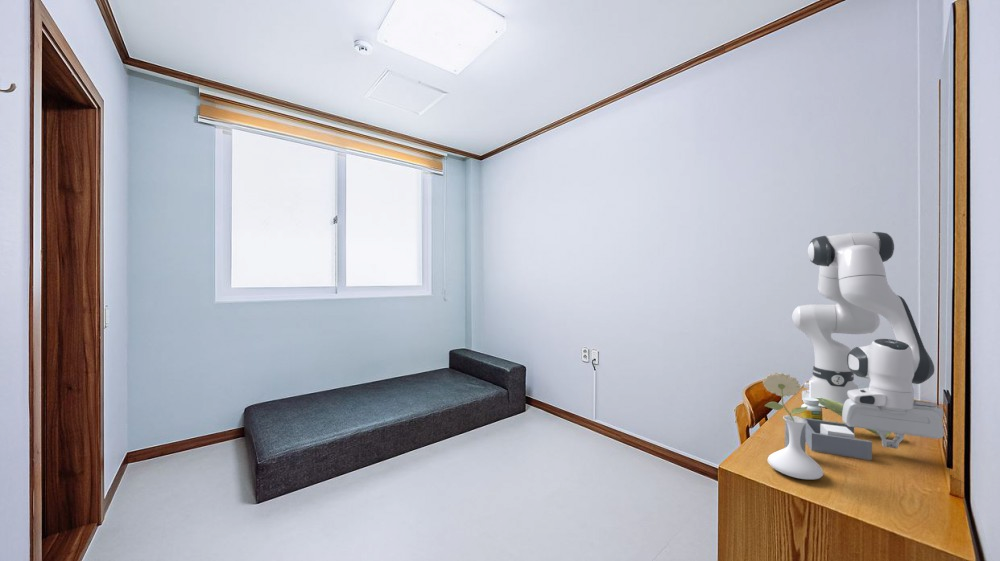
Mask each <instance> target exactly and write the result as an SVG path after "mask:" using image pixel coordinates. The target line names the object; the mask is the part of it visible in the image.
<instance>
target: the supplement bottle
mask: <svg viewBox="0 0 1000 561" xmlns="http://www.w3.org/2000/svg"><path fill="white" fill-rule="evenodd" d="M802 402H803V404H801V406H800V408H801V407H807V406H808V407H807V409H806V410H805V411H804V412H802V413H801V417H802V418H809V419H816V420H824V419H823V407H822V406H819V400H818V399H815V398H809V397H806V398H803V401H802Z"/></svg>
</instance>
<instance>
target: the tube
mask: <svg viewBox="0 0 1000 561" xmlns="http://www.w3.org/2000/svg"><path fill="white" fill-rule="evenodd" d="M811 398H815V399H818V400H819V403H820V404H821V405H823V406H825V407H824V408H826V409H827V410H830V411H832V412H833V413H834V414H836V415H838V416H840V417H842V411H843V406H844V404H841V403H838V402H835V401H832V400H829V399H825V398H819V397H811ZM865 430H866V431H869V432H871V433H872V434H874V435H877V436H878V437H880V436H879V435H878V433H877V430H871V429H865ZM891 434H892V432H886V435H884V437H885V438H886V439H887V438H888V437H889V436H890V435H891Z"/></svg>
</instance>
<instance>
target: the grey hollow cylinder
mask: <svg viewBox="0 0 1000 561" xmlns="http://www.w3.org/2000/svg"><path fill="white" fill-rule="evenodd" d="M788 444H789V429H788V425H787V423H786V421H785V420H784V448H786V447H787V446H788ZM800 445H801V448H802V450H803V451H804V452H805V453H806V424H805V425H804V426H803V428H802V431H801V436H800Z"/></svg>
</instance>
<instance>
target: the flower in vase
mask: <svg viewBox="0 0 1000 561" xmlns="http://www.w3.org/2000/svg"><path fill="white" fill-rule="evenodd" d="M762 385H763V387H764V388H766V389H765V390H766V391H767V392H770V393H771V394H775V395H776V396H779V397H781V403H778V402H776V401H769V402H767V403H765V404H764V407H766V408H769V409H773V410H776V411H780V410H781V409H783V408H784V410H785V411H786V413H788V415H783V416H782V418H783V420H784V422H785V421H786V423H787V425H788V429H789V444H788V446H787V447H786V448H785V447H784V448H781V449H779V450H777V451H774V452H772V453H771V454H770V455H768V458H767V463H768V464H769V466H770V467H771V468H773V469H774V470H776V471H777V472H780V473H781V474H783V475H786V476H789V477H792V478H795V479H799V480H800V479H801V480H818V479H821V478H822V477H823V476H824V471H823V468H822V467H821V466H820V465H819V463H818V462H817V461H816V460H815V459H814V458H812V457H810V455H809V454H807V453H806V451H805V452H804V451H803V450H802V448H801V445H800V436H801V431H802V428H803V426H804V425H805V424H806V423H807V422H808V421H807V420H806V419H804V418H801V417H802V416H796V415H798V414H802V412H804V411H805V410H806V409H807V407H808V406H807V407H801V406H800V407H794V408H793V409H792V410H791V411H789V410H788V409H787V407H786V406H785V403H784V397H791V396H796V395H797V393H799V392H800V391H801V390H802V388H801V385H800V383H799V380H797V378H796V377H792V376H791V375H790V374H785V373H784V372H780V373H778V372H774V373H773V374H771V373H769V374H768V375H766V377H765V378H764V380H762Z"/></svg>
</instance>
